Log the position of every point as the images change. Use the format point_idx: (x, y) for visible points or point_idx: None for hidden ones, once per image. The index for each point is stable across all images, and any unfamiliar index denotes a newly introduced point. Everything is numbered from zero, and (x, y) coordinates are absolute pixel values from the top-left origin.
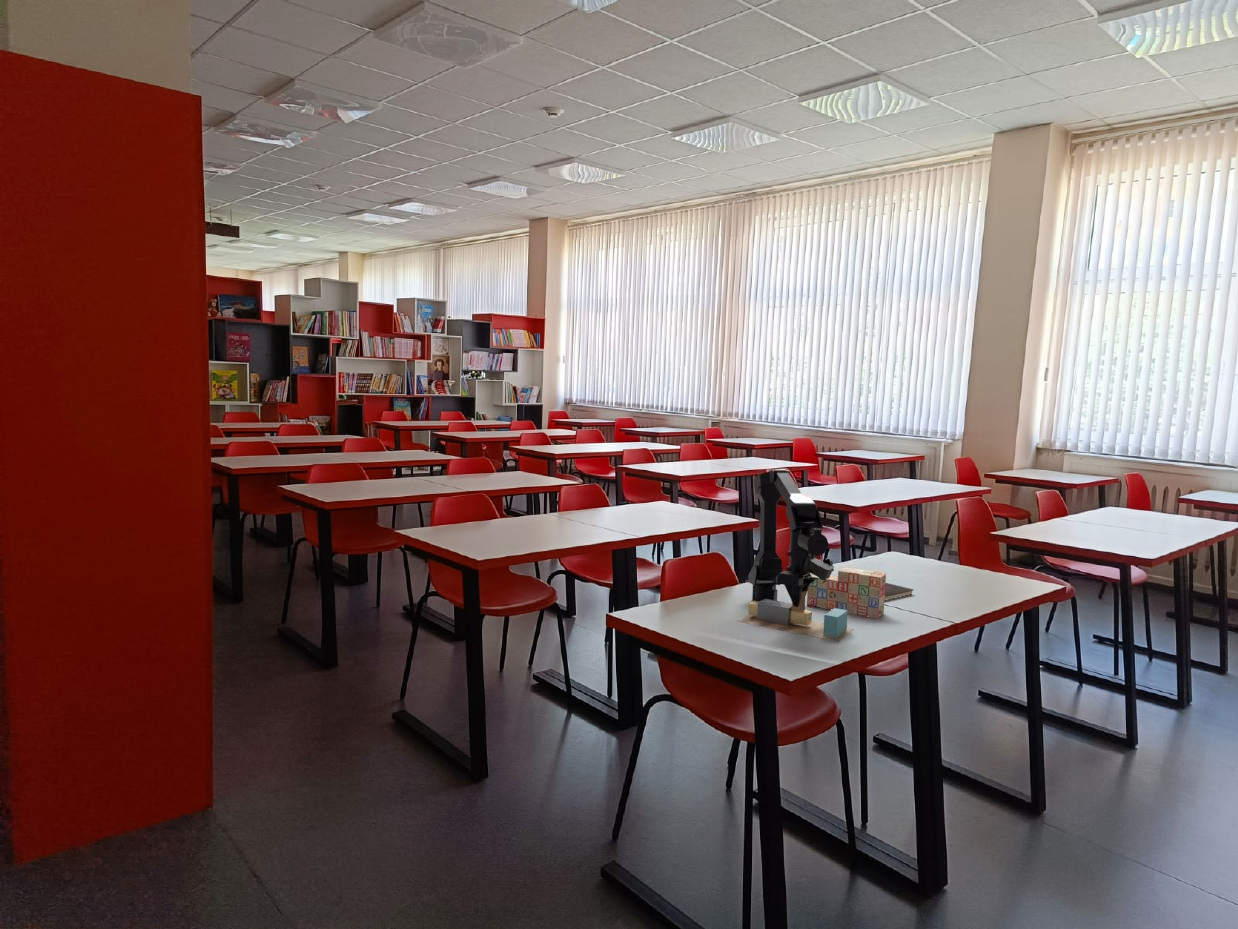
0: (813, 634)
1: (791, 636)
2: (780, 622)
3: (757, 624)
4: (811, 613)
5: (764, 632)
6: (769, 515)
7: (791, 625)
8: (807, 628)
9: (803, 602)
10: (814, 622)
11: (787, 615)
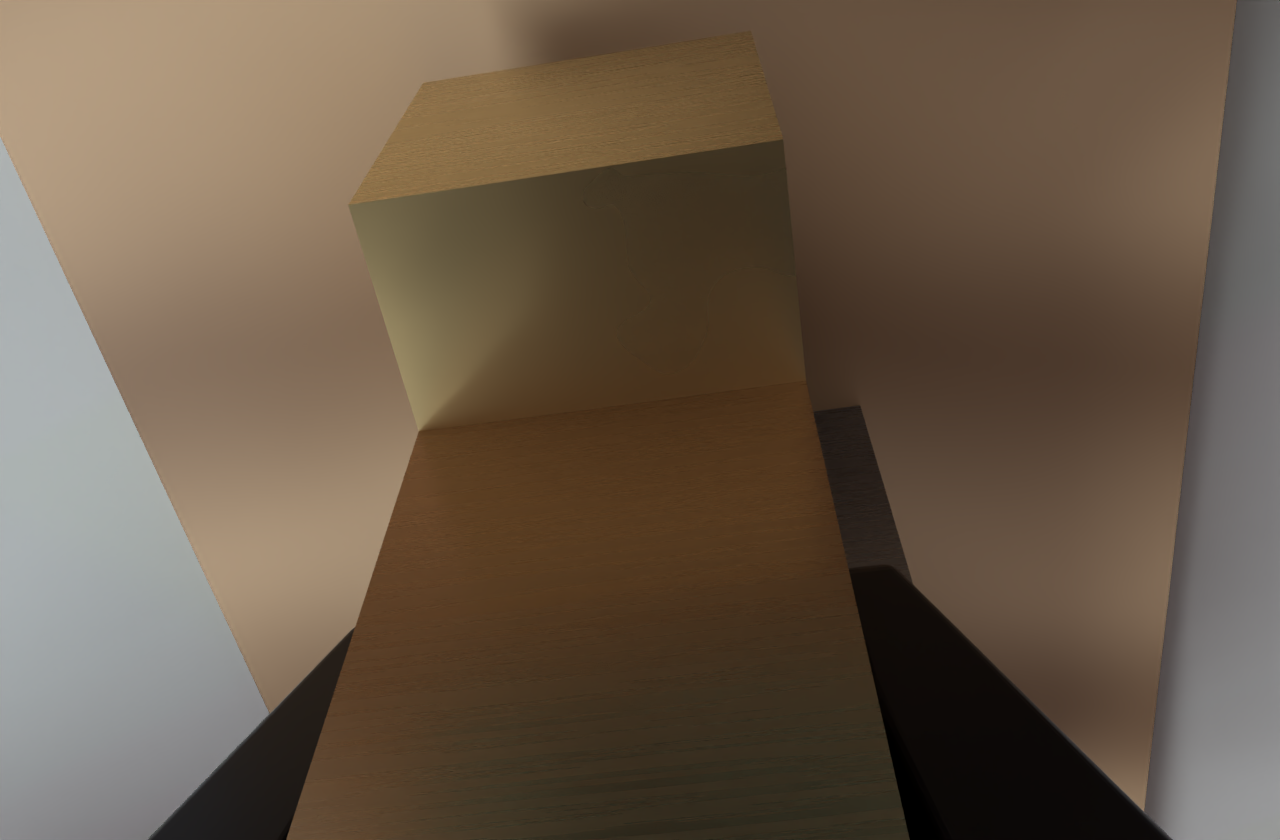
0: None
1: (1227, 101)
2: None
3: (1118, 775)
4: (397, 175)
5: (1261, 561)
6: None
7: None
8: (681, 30)
9: (539, 605)
10: (98, 167)
11: (910, 580)
